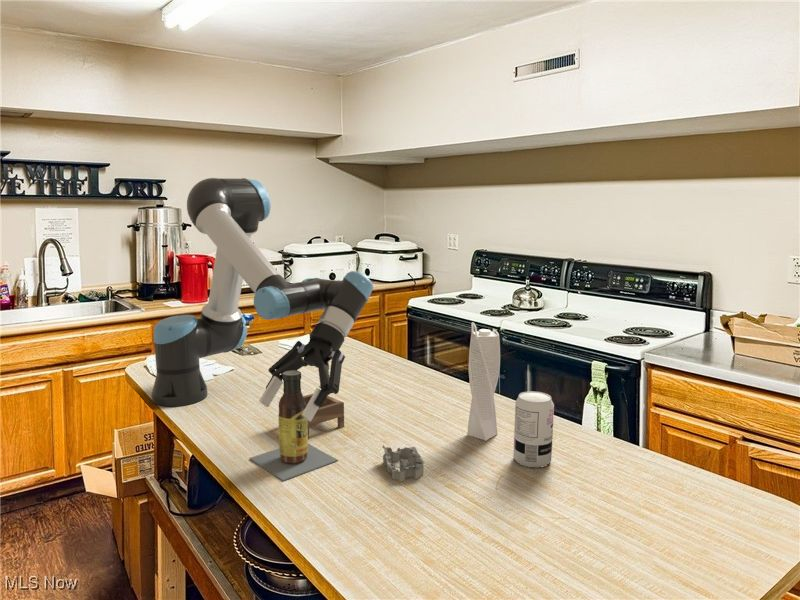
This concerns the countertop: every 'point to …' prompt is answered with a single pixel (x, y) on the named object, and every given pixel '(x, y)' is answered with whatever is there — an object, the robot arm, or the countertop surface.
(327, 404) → the wooden square frame
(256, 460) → the slate mat
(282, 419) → the sauce bottle
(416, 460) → the egg carton
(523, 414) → the supplement can
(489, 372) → the skyscraper
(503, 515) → the countertop surface
